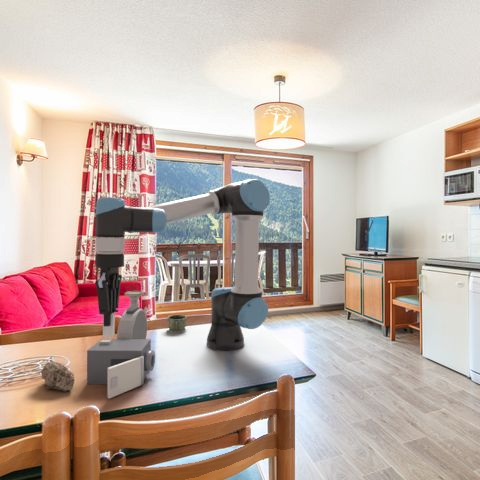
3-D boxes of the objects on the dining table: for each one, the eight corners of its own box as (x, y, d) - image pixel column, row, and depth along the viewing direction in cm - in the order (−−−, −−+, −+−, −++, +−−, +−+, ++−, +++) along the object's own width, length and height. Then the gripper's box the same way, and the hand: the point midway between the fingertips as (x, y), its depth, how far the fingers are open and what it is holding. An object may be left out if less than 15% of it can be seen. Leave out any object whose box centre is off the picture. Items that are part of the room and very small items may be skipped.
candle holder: (149, 340, 130) (150, 291, 129) (132, 346, 122) (132, 295, 122) (135, 336, 134) (136, 289, 134) (118, 341, 127) (118, 292, 127)
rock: (50, 358, 95) (30, 367, 85) (87, 358, 96) (72, 366, 86) (48, 382, 94) (27, 394, 84) (86, 382, 95) (70, 393, 85)
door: (141, 382, 92) (141, 355, 91) (145, 384, 90) (145, 357, 90) (107, 397, 83) (107, 367, 83) (110, 399, 82) (110, 369, 82)
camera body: (157, 369, 102) (157, 336, 101) (148, 384, 92) (148, 348, 91) (101, 369, 101) (101, 336, 101) (86, 384, 91) (86, 348, 91)
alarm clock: (127, 348, 120) (128, 301, 119) (153, 349, 119) (154, 302, 119) (108, 366, 103) (108, 312, 103) (138, 367, 103) (139, 313, 103)
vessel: (168, 326, 149) (168, 313, 149) (186, 326, 150) (187, 313, 150) (166, 334, 137) (166, 320, 137) (186, 333, 138) (186, 320, 138)
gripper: (106, 251, 93) (104, 329, 94) (85, 253, 80) (84, 344, 81) (131, 251, 93) (129, 329, 94) (114, 254, 80) (113, 344, 81)
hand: (108, 336), depth 87 cm, fingers closed
